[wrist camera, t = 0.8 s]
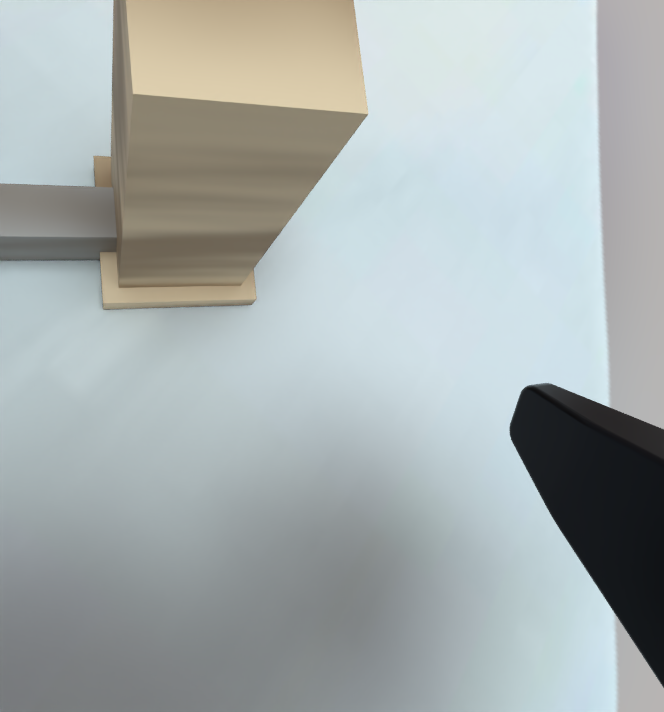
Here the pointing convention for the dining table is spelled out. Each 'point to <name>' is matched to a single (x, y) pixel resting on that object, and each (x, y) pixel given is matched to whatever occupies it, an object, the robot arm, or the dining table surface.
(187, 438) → the dining table surface
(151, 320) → the dining table surface
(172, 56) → the blade tool
